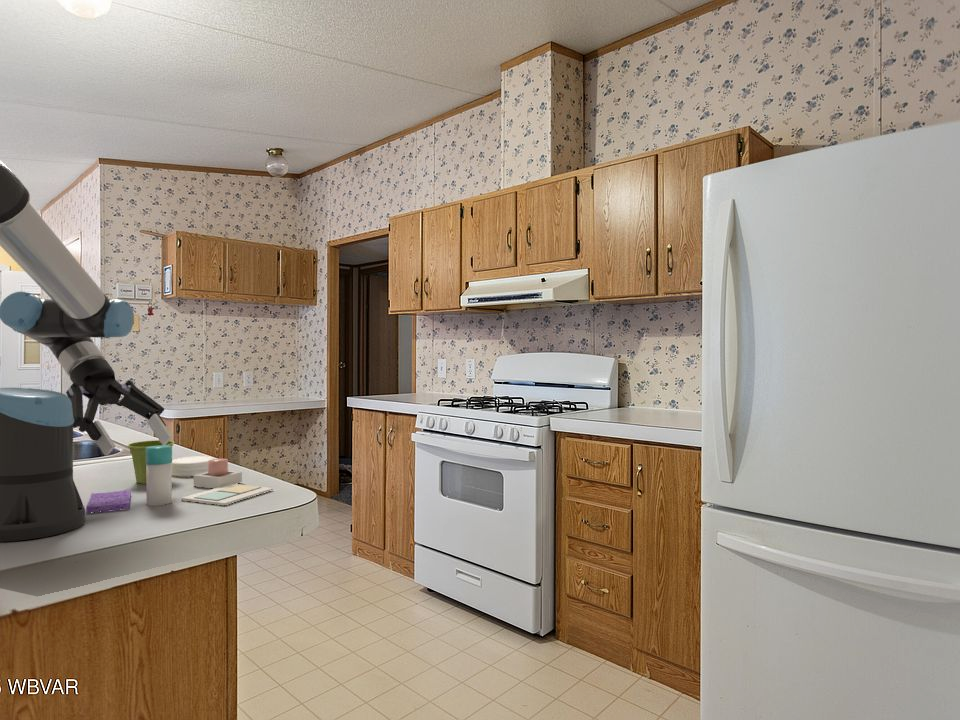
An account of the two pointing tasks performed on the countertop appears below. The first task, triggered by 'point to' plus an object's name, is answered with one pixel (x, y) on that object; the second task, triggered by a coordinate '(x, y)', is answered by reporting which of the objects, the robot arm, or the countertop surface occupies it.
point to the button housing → (217, 479)
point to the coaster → (190, 466)
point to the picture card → (226, 494)
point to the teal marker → (158, 475)
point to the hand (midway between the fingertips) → (140, 445)
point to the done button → (217, 467)
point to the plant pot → (142, 457)
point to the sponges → (109, 501)
